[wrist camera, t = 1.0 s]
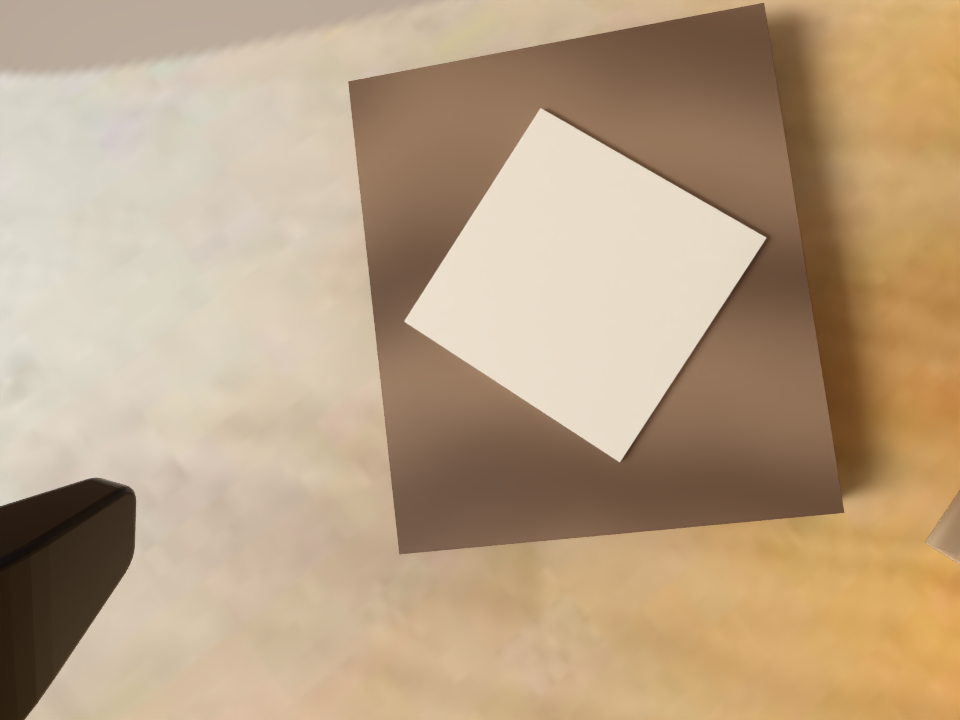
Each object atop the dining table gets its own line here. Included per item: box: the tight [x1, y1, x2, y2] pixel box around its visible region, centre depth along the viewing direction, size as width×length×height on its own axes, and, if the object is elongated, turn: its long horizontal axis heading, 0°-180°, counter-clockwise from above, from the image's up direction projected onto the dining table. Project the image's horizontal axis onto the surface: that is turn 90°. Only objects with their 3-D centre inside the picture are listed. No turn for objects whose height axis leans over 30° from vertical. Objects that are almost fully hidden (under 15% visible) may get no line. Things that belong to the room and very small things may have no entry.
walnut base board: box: [349, 3, 844, 554], centre depth 20 cm, size 14×12×2 cm
